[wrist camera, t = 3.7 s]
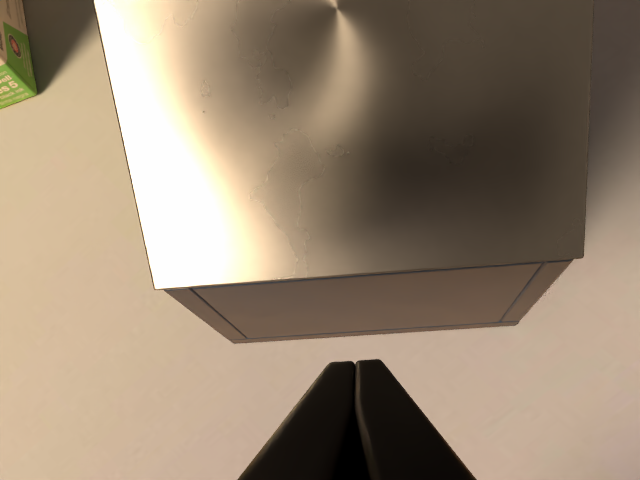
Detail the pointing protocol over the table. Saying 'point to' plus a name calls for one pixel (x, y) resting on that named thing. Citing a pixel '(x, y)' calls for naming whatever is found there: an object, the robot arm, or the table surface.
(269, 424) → the table surface
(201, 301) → the open box
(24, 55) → the ink box
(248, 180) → the box lid
